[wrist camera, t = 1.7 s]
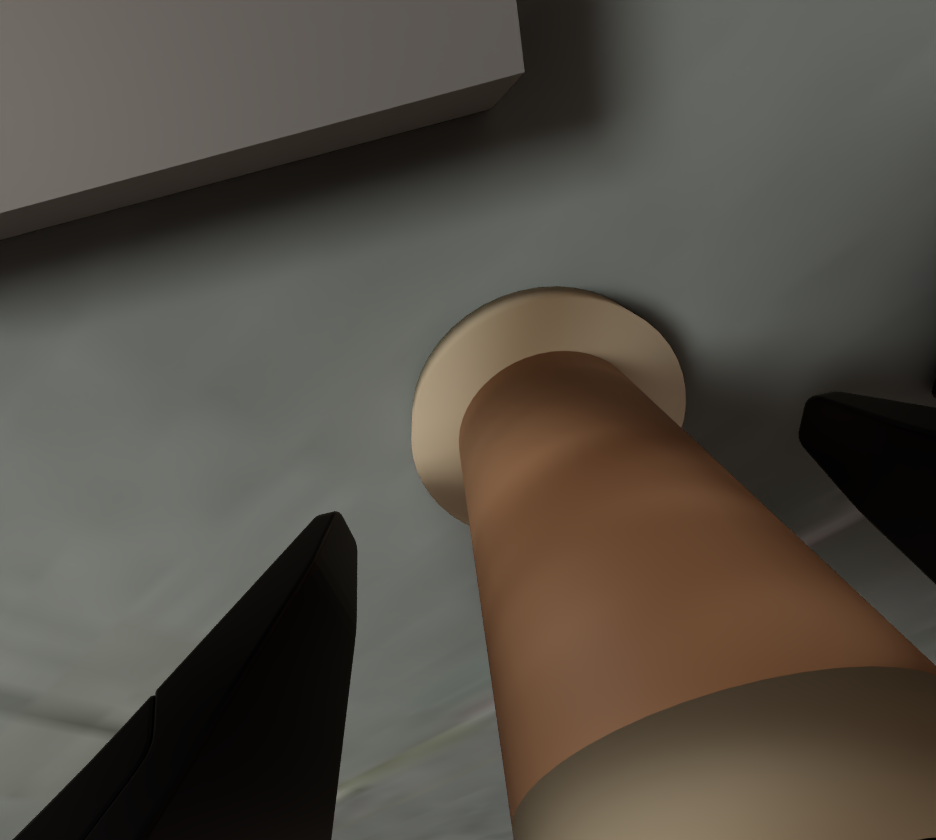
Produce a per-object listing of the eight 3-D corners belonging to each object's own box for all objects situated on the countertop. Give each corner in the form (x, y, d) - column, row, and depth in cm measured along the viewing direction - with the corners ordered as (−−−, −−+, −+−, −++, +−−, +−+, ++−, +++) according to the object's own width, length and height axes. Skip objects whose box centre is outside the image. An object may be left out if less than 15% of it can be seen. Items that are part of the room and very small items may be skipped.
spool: (665, 253, 8) (2031, 638, 1) (659, 481, 11) (1044, 960, 4) (375, 327, 8) (146, 1031, 1) (447, 531, 11) (487, 1070, 4)
